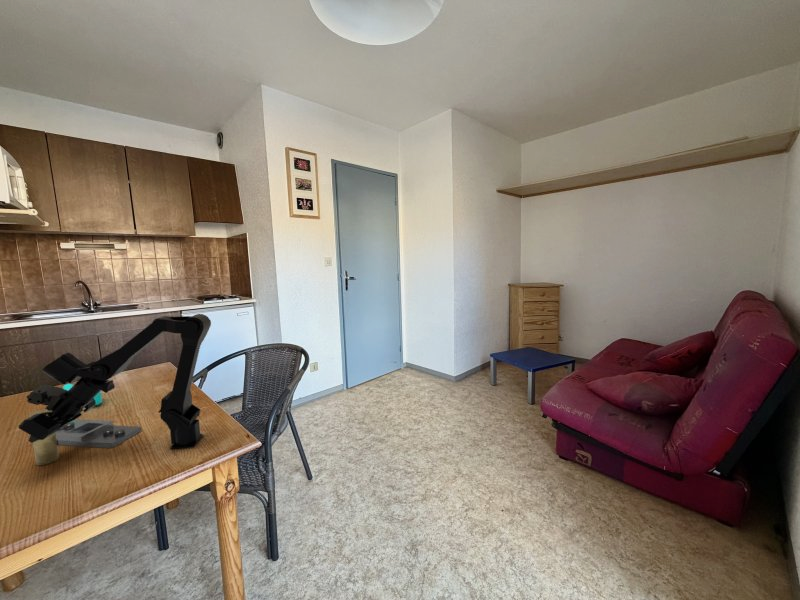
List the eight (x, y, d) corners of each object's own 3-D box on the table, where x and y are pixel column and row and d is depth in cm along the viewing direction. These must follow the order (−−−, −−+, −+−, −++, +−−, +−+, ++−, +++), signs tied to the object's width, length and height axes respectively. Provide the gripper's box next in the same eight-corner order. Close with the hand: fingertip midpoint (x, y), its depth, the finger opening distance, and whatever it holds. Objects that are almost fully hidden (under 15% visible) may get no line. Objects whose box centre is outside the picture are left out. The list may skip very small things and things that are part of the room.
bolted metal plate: (141, 431, 103) (140, 419, 102) (112, 448, 93) (110, 435, 93) (76, 427, 105) (74, 416, 105) (41, 444, 96) (39, 431, 95)
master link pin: (63, 455, 90) (56, 408, 88) (50, 464, 86) (42, 415, 84) (45, 456, 89) (38, 409, 88) (31, 466, 85) (23, 416, 83)
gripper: (78, 365, 95) (37, 405, 93) (22, 389, 77) (-29, 438, 75) (112, 387, 98) (73, 426, 96) (66, 415, 80) (18, 464, 78)
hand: (37, 437), depth 86 cm, fingers closed on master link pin, 4 cm apart
